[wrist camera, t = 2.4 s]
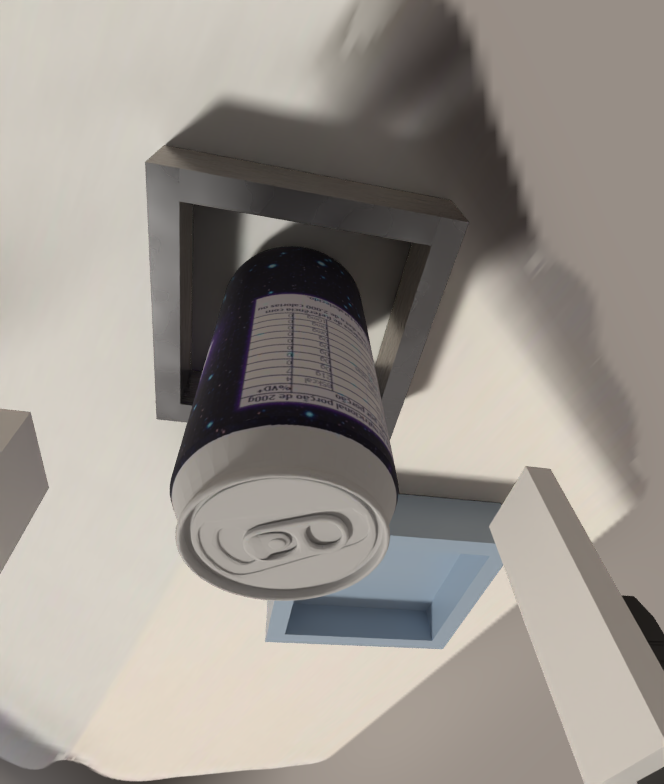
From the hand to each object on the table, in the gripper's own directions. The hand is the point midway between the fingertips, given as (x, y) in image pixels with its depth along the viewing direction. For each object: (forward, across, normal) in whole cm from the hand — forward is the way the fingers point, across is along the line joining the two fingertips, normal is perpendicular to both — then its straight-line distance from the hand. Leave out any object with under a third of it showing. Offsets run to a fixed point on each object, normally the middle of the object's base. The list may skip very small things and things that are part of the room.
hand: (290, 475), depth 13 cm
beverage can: (+10, 0, 0) cm, 10 cm away
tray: (+10, +8, -18) cm, 22 cm away
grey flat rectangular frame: (+10, 0, -3) cm, 10 cm away
